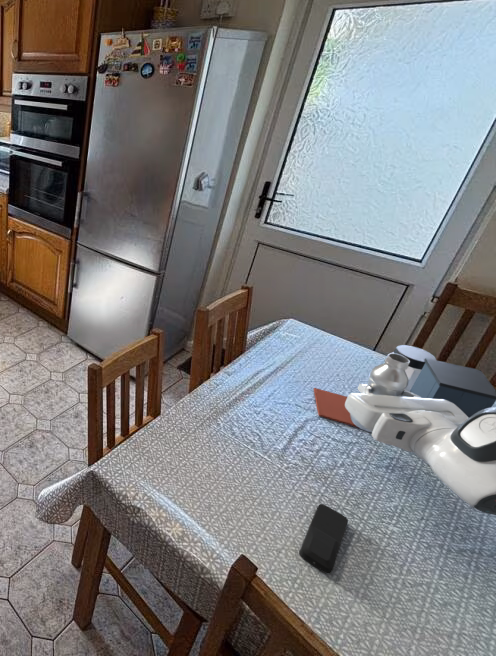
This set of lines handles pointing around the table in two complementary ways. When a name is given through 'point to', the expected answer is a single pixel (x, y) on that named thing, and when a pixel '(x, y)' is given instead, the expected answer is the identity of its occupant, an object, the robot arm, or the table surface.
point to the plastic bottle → (387, 379)
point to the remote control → (324, 538)
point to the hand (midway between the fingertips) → (378, 387)
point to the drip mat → (332, 407)
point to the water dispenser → (455, 386)
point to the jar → (413, 361)
